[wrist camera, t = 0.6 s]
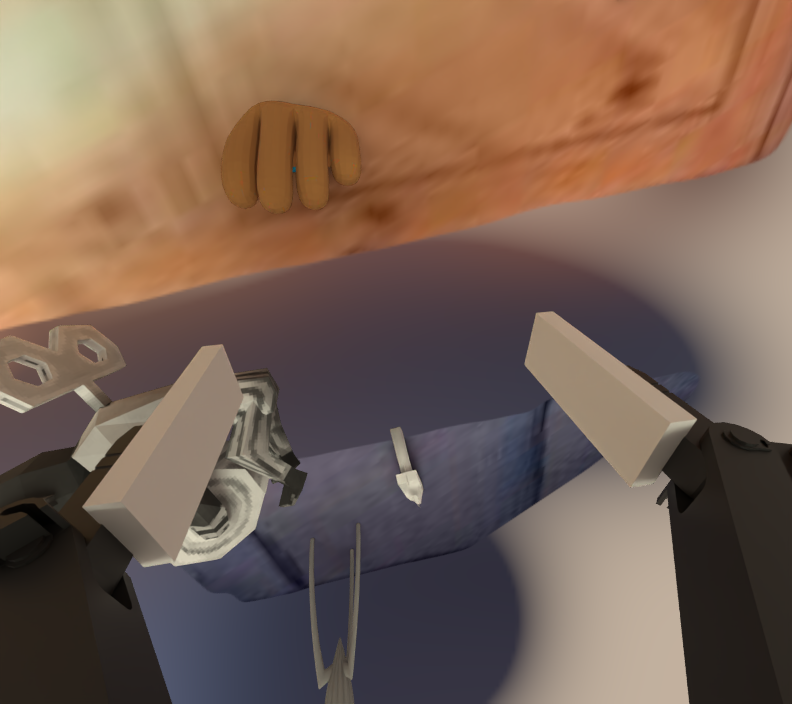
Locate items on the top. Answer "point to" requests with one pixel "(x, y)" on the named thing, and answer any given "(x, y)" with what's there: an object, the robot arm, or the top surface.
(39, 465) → the toy
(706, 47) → the top surface
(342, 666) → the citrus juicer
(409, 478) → the handgun
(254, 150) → the orange glove
